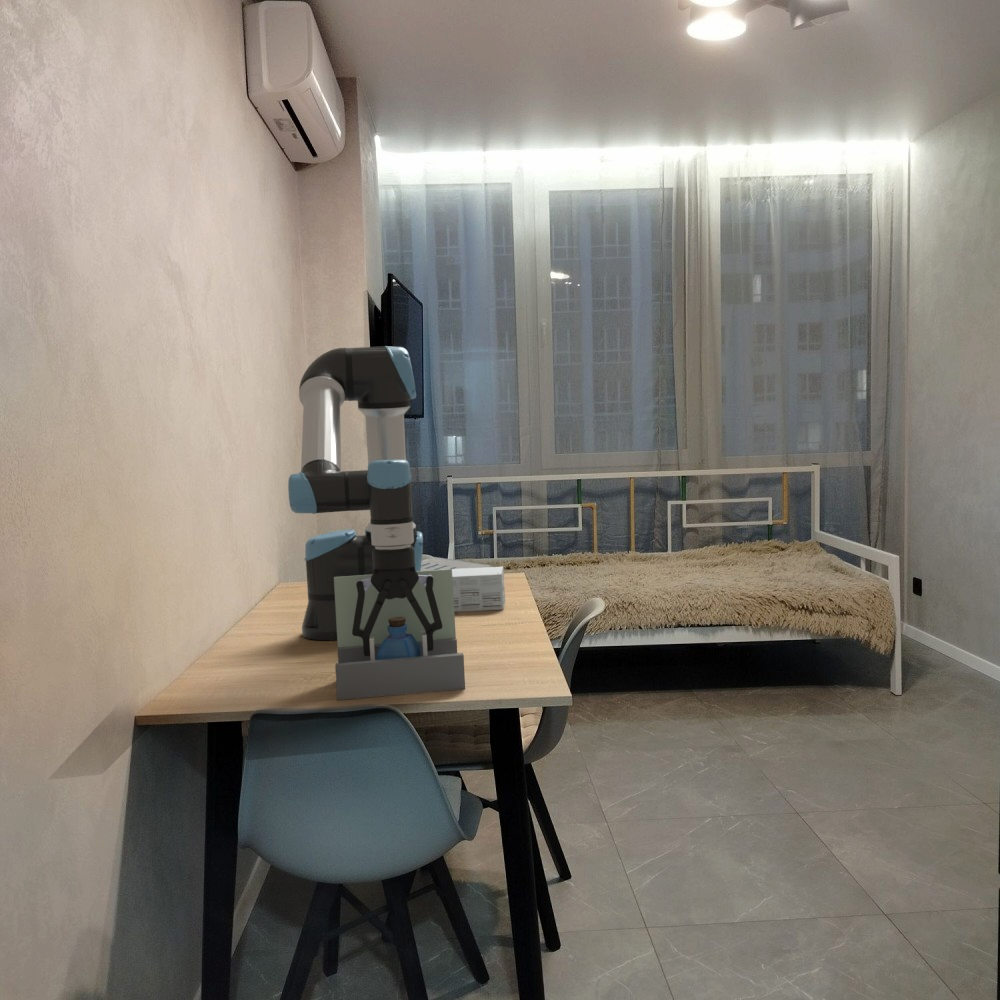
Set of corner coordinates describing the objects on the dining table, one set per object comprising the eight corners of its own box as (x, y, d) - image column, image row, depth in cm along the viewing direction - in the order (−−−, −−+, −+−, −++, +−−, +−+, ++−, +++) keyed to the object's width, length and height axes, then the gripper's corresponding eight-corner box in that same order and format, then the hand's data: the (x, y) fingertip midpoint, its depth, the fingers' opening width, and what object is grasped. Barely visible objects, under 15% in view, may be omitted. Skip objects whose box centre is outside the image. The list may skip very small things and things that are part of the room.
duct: (339, 679, 160) (337, 647, 160) (457, 669, 163) (455, 638, 163) (337, 700, 147) (335, 665, 147) (465, 688, 150) (463, 655, 150)
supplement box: (505, 600, 230) (504, 565, 229) (504, 610, 216) (502, 573, 216) (442, 602, 230) (440, 568, 230) (437, 613, 217) (435, 576, 216)
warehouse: (395, 587, 258) (393, 562, 257) (434, 581, 267) (433, 556, 266) (453, 600, 234) (451, 572, 234) (494, 592, 243) (493, 565, 243)
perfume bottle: (412, 689, 152) (408, 622, 151) (378, 689, 153) (374, 622, 152) (421, 679, 158) (418, 614, 157) (389, 679, 159) (385, 615, 158)
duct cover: (337, 648, 160) (338, 647, 161) (455, 639, 163) (455, 638, 164) (333, 577, 160) (334, 577, 161) (451, 569, 163) (451, 569, 164)
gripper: (330, 553, 148) (338, 681, 150) (455, 545, 151) (461, 671, 153) (332, 547, 155) (340, 670, 157) (450, 540, 159) (456, 660, 160)
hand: (399, 670), depth 155 cm, fingers open, 9 cm apart
